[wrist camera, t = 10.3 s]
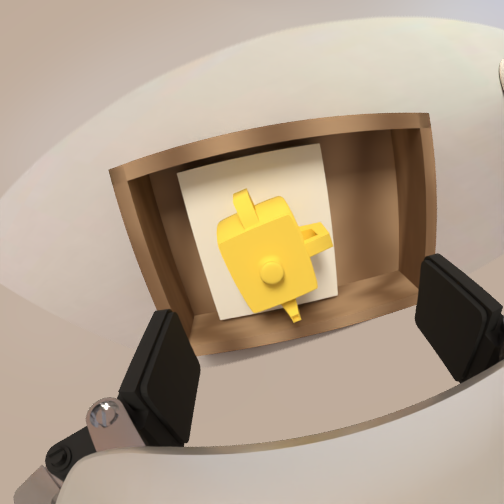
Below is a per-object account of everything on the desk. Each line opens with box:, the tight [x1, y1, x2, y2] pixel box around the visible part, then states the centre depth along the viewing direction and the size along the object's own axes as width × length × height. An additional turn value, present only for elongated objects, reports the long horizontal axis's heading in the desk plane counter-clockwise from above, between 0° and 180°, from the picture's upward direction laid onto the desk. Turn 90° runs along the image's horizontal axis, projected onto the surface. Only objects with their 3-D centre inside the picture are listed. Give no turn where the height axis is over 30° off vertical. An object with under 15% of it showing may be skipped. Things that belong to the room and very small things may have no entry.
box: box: [109, 113, 437, 356], centre depth 18 cm, size 20×14×5 cm
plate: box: [177, 143, 338, 320], centre depth 19 cm, size 9×11×2 cm
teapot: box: [217, 188, 333, 323], centre depth 16 cm, size 8×6×5 cm
